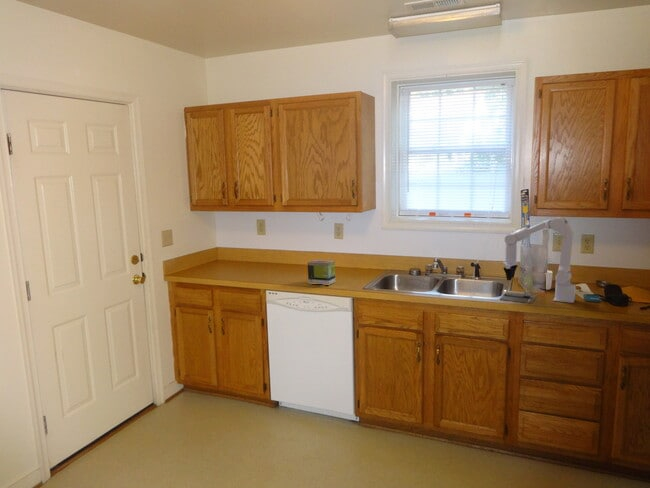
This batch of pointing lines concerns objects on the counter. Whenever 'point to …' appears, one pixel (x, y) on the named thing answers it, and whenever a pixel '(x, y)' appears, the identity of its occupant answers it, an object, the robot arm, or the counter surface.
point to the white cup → (548, 279)
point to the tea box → (321, 271)
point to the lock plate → (518, 298)
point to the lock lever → (517, 293)
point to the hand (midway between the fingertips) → (510, 278)
